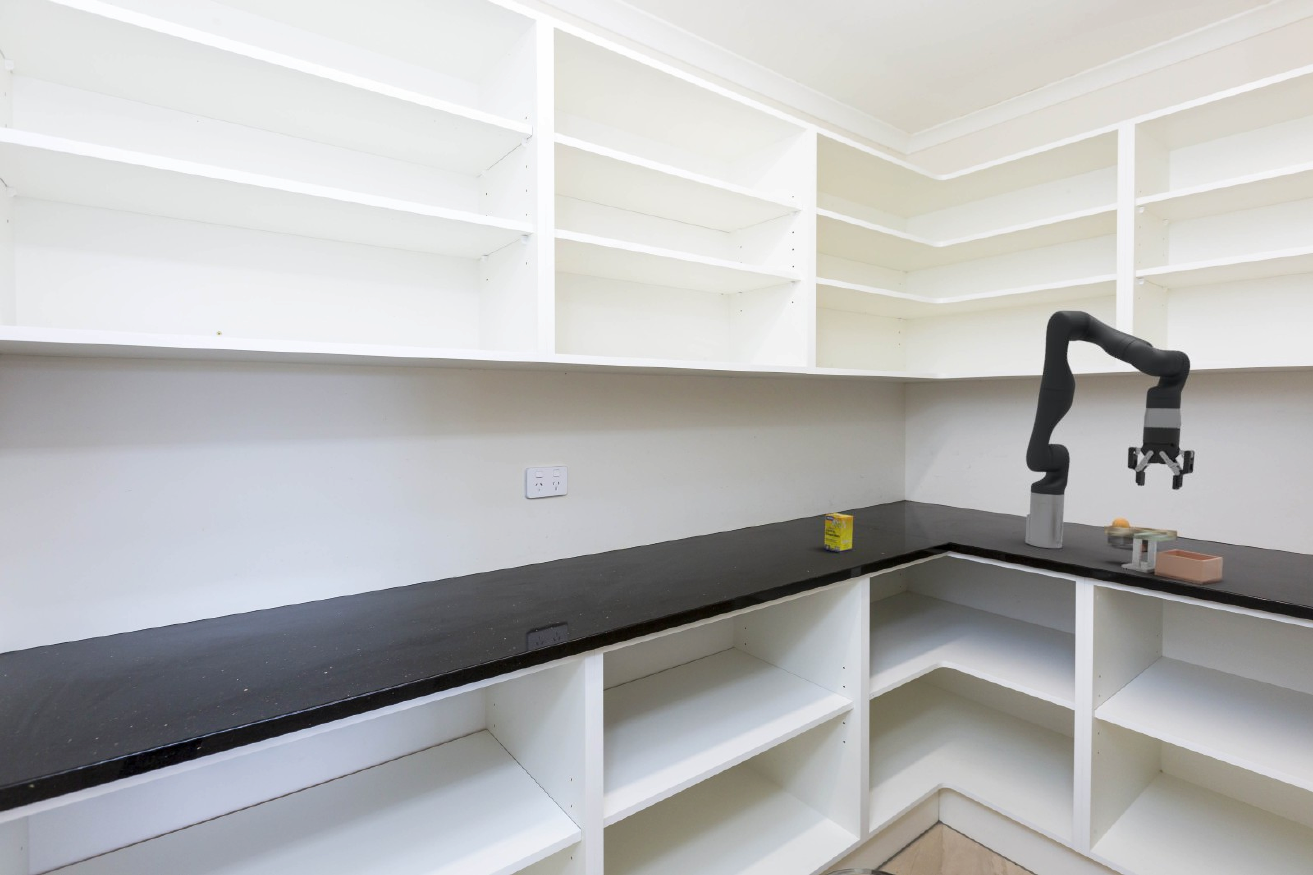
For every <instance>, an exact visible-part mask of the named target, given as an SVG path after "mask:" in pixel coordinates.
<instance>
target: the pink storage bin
mask: <svg viewBox="0 0 1313 875" xmlns="http://www.w3.org/2000/svg"><path fill="white" fill-rule="evenodd" d="M1223 562H1224V557H1221V556H1215V555H1209V554H1206V553H1205V554H1204V553H1198V552H1192V551H1187V550H1181V549H1176V548H1175V549H1170V550H1163V551H1158V552H1157V551H1156V561H1155V571H1154V575H1155V576H1159V577H1164V578H1168V579H1174V580H1177V581H1182V582H1187V583H1191V582H1193V583H1192V584H1196V583H1197V584H1196V585H1200V584H1201V586H1202V585H1203V584H1204V585H1208V584H1211V582H1213V583H1216V582H1221V581H1222V578H1223ZM1207 583H1208V584H1207Z"/></svg>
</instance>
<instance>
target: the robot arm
mask: <svg viewBox="0 0 1313 875" xmlns="http://www.w3.org/2000/svg"><path fill="white" fill-rule="evenodd" d="M1078 341H1079V342H1086V343H1090V344H1094V345H1096V346H1098V347H1100V348H1101V349H1102V350H1103V351H1104V352H1105V354H1107V355H1109V356H1110V357H1113V358H1114V359H1117V360H1119V361H1121V362H1124V363H1126V364H1128V365H1131V366H1132V367H1133V368H1135V369H1136V370H1137V371H1139V372H1141V373H1142V374H1145V375H1148V376H1151V377H1155V378H1156V377H1158V378H1159V380H1158V383H1157V385H1156V386H1152V387H1150V388H1148V389H1147V391H1146V400H1145V411H1144V415H1143V429H1142V430H1143V431H1142V432H1143V433H1142V446H1141V447H1137V446H1129V447H1128V449H1127V451H1128V452H1127V468H1128V469H1130V470H1132V471H1133V470H1134V471H1135V479H1134V480H1135V484H1137V486H1140V487H1142V486H1145V483H1146V469H1148V467H1149V466H1151V465H1152V464H1160V465H1167V466H1168V468H1169V469H1171V471H1172V473H1173V475H1172V483H1171V484H1172V488H1171V489H1172V490H1174V491H1175V490H1176V491H1177V490H1178V491H1179V490H1180V488H1182V487H1183V480H1184V475H1188V474H1193V473H1194V462H1195V455H1196V454H1195V451H1194V450H1193V449H1189V450H1188V449H1187V450H1185V449H1182V450H1181V448H1180V442H1181V441H1180V440H1181V427H1182V415H1181V414H1182V413H1181V405H1182V404H1181V403H1182V393H1183V390H1184V388H1185V385H1186V383H1187V382H1186V381H1187V379H1188V377H1189V375H1190V372H1191V371H1190V370H1191V360H1190V358H1189V356H1188V354H1186V353H1185V352H1183V351H1181V350H1173V349H1172V350H1170V349H1159V348H1156V347H1154V345H1153V344H1152V343H1150V342H1149V341H1147V340H1145V339H1142V338H1139V337H1137V336H1134V335H1132V334H1128V333H1125V332H1123V331H1120V330H1119V329H1115V328H1114V327H1112V326H1110V325H1108V324H1107V323H1104V322H1102V321H1101V320H1099V319H1098V318H1096V317H1094V316H1093V315H1091V314H1090V313H1088V312H1086V311H1082V310H1058V311H1055V312H1054V313H1053V314H1052V315H1050V318H1049V319H1048V322H1047V326H1046V331H1045V348H1044V351H1045V352H1044V361H1043V367H1042V368H1043V369H1042V376H1041V382H1040V386H1039V393H1038V399H1037V400H1038V401H1037V407H1036V412H1035V418H1034V424H1033V427H1032V431H1031V434H1030V437H1029V438H1030V439H1029V441H1028V445H1027V449H1026V454H1025V455H1026V456H1025V461H1026V466H1027V468H1028V469H1029V471H1032V472H1033V473H1045V475H1044V477H1043V478H1041V479H1039V480H1036V481H1034V482H1032V483H1031V485H1030V501H1029V514H1026V518H1025V519H1026V520H1025V521H1026V522H1025V526H1026V527H1025V544H1029V546H1030V545H1031V546H1032V547H1033V546H1034V547H1038V548H1044V549H1045V548H1046V549H1061V548H1063V532H1064V515H1065V514H1064V512H1065V511H1064V510H1065V491H1066V488H1067V485H1068V483H1069V482H1068V479H1069V472H1070V464H1071V462H1070V461H1071V458H1070V452H1069V449H1068V448H1067V447H1066V446H1065V445H1064V444H1060V443H1050V440H1051V437H1052V434H1053V432H1054V430H1055V428H1056V427H1057V426H1058V425H1059V423H1060V421H1061V420H1063V418H1064V417H1065V416H1066V415H1067V414H1068V412H1069V411H1070V409H1071V408H1072V406H1073V402H1074V398H1075V397H1074V396H1075V390H1076V381H1075V378H1074V374H1073V371H1072V368H1071V367H1070V365H1069V361H1068V360H1069V359H1068V352H1069V345H1070V342H1078ZM1141 454H1142V455H1143V458H1141V460H1140V462H1139V463H1138V458H1139V455H1141ZM1179 456H1181V458H1182V459H1183V463H1182V464H1183V465H1182V467H1181V464H1180V462H1179V461H1178V459H1177V458H1178V457H1179Z"/></svg>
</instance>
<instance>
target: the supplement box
mask: <svg viewBox="0 0 1313 875" xmlns="http://www.w3.org/2000/svg"><path fill="white" fill-rule="evenodd" d="M824 522H825V524H824V525H825V526H824V527H825V528H824V550H826V551H830V552H833V553H834V552H835V553H837V554H838V553H839V554H842V553H843V554H844V553H849V552H852V549H853V529H854V528H853V525H854V523H853V522H854V515H849V514H848V515H847V514H843V513H839V512H836V513H830V514H825V521H824Z"/></svg>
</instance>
